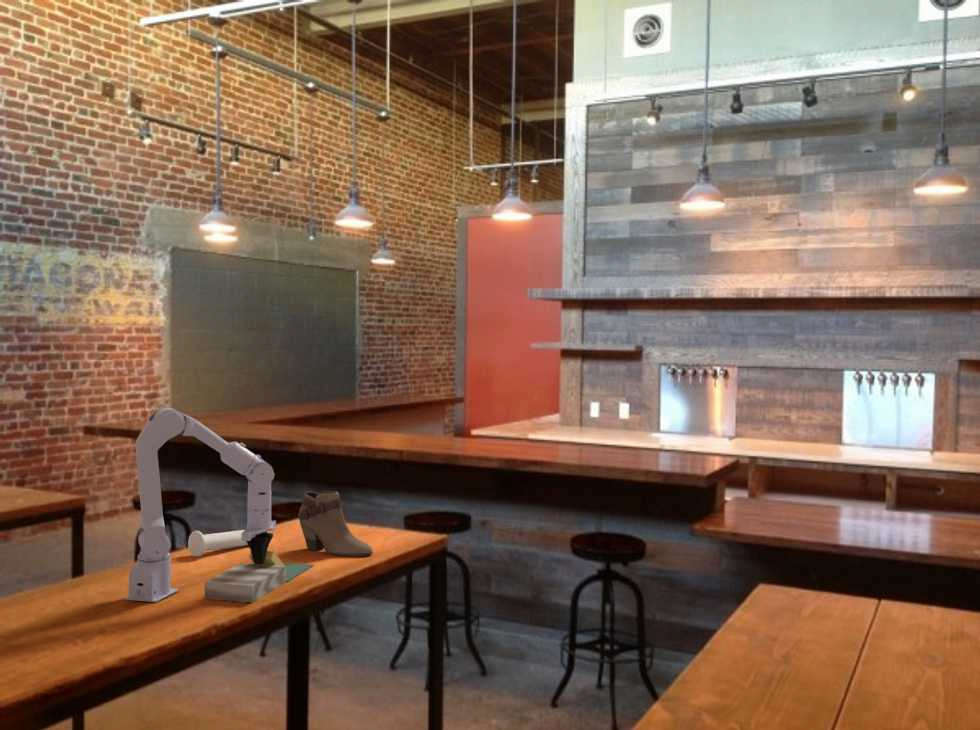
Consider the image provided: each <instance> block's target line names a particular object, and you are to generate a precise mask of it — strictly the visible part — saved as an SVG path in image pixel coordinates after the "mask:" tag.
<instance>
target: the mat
mask: <svg viewBox="0 0 980 730" xmlns="http://www.w3.org/2000/svg"><path fill="white" fill-rule="evenodd" d="M281 562H282V561H281ZM282 563H283V564H284V566H286V582H285V583H289V582H291V581H293V579H295V578H297V577H299V576H300V575H301V574H302V573H305V572H306V571H308V570H310V569H311V568H313V567H314V564H309V563H297V562H282Z"/></svg>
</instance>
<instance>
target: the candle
mask: <svg viewBox="0 0 980 730" xmlns="http://www.w3.org/2000/svg"><path fill="white" fill-rule="evenodd" d="M244 530H245V529H239V530H231V531H225V532H216V533H209V534H208V533H207V534H203V532H201V531H199V530H194V531H192V532H191V533H190V534H189V537H188V540H187V548H188V551H189V553H190V554H191V555H192V556H193V557H194V556H197V557H196V558H199V557H201V556H202V555H203V554H204V553H205V552H208V551H209V552H210V551H215V550H222V549H231V548H235V547H237V548H238V547H244V546H249V545H248V543H247V542H246V541H242V532H244Z"/></svg>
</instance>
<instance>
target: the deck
mask: <svg viewBox="0 0 980 730" xmlns="http://www.w3.org/2000/svg"><path fill="white" fill-rule="evenodd" d="M286 583H287V582H286V566H279V565H266V564H254V563H253V562H252V563H249V562H240V563H239V564H237V565H235V566H233V567H230V568H229V569H227V570H225V571H224V572H221V573H219V574H217V575H215V576H214V577H211V578H210V579H208V580H206V581H204V600H208V599H215V600H214V601H220V600H226V601H225V602H232V601H238V602H237V603H244V602H250V603H249V604H254V603H255V602H256V600H257V601H258V600H260V599H262V598H263V597H265V596H266V595H268V594H269V593H271V592H272V591H274V590H276V589H277V588H279V587H280V586H282V585H284V584H286ZM264 595H265V596H264ZM254 601H255V602H254Z"/></svg>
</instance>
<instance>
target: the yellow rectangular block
mask: <svg viewBox="0 0 980 730" xmlns="http://www.w3.org/2000/svg"><path fill="white" fill-rule="evenodd" d="M248 558H249V559H250V560H251V561H252V564H254V561H253V557H252V553H251V552H250V554H249V556H248ZM263 564H266V565H279V566H284V564H283V563H282V560H281V559H280V558H279V557H278V555H277V554H276V552H275V551H273V550H267V553H266V557H265V561H264V563H263Z"/></svg>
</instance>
